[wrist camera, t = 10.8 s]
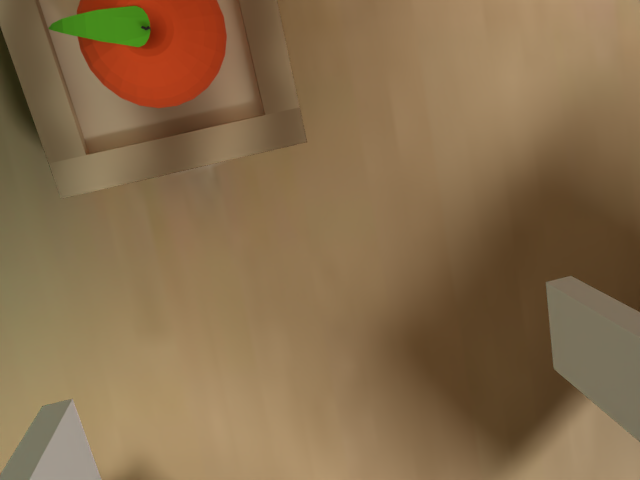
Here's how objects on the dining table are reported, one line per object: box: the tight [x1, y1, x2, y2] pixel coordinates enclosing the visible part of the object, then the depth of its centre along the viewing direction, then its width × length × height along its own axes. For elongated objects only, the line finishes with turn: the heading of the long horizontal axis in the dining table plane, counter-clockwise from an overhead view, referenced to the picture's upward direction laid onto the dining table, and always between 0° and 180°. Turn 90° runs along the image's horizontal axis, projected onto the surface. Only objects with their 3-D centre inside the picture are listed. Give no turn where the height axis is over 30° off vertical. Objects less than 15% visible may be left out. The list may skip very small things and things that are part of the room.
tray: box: [0, 0, 307, 199], centre depth 32 cm, size 14×14×5 cm
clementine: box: [48, 0, 227, 108], centre depth 27 cm, size 8×7×7 cm
